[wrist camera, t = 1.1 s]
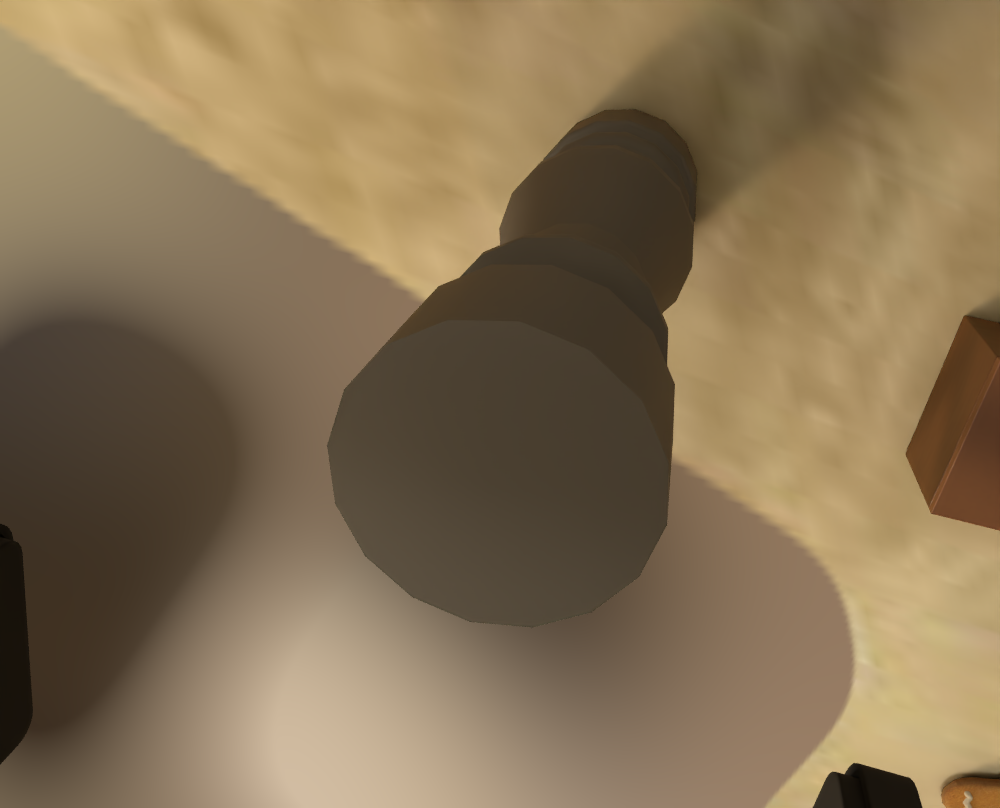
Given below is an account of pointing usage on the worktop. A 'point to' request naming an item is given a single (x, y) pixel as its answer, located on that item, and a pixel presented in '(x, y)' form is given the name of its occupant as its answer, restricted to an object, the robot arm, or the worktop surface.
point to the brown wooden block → (963, 430)
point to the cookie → (972, 793)
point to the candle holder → (532, 393)
